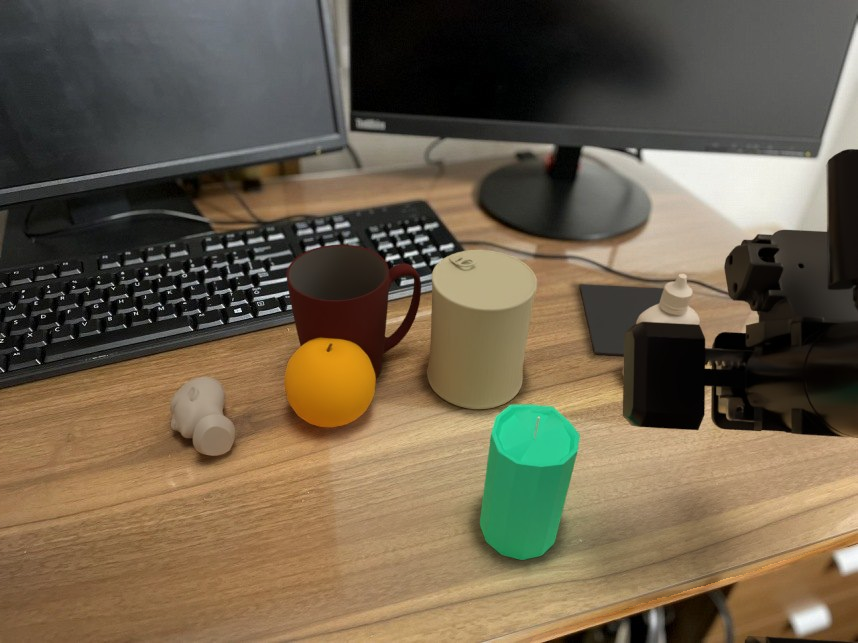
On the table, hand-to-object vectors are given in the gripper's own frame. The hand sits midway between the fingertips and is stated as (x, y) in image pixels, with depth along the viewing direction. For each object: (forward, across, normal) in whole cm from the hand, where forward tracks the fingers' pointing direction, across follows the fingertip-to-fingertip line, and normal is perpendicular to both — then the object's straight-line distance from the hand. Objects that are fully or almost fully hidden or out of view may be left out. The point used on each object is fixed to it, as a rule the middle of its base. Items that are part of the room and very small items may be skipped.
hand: (725, 384), depth 48 cm
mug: (+17, +28, -1) cm, 33 cm away
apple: (+13, +30, +4) cm, 33 cm away
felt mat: (+24, 0, -7) cm, 25 cm away
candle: (+5, +14, +12) cm, 19 cm away
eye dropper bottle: (+17, 0, -1) cm, 17 cm away
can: (+17, +17, 0) cm, 24 cm away
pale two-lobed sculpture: (+10, +41, +6) cm, 43 cm away
